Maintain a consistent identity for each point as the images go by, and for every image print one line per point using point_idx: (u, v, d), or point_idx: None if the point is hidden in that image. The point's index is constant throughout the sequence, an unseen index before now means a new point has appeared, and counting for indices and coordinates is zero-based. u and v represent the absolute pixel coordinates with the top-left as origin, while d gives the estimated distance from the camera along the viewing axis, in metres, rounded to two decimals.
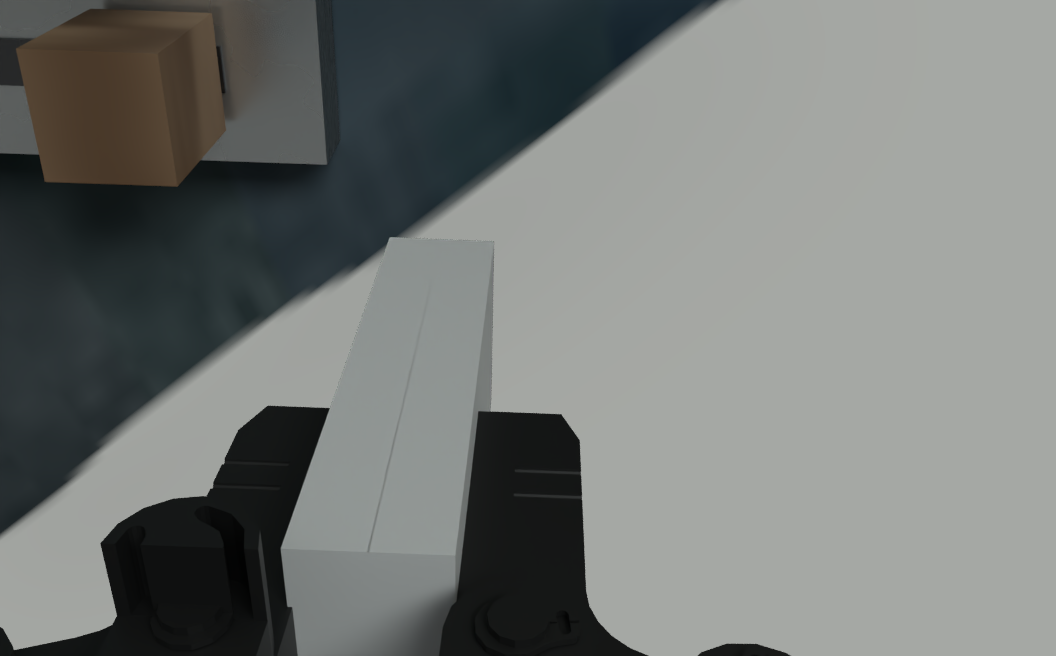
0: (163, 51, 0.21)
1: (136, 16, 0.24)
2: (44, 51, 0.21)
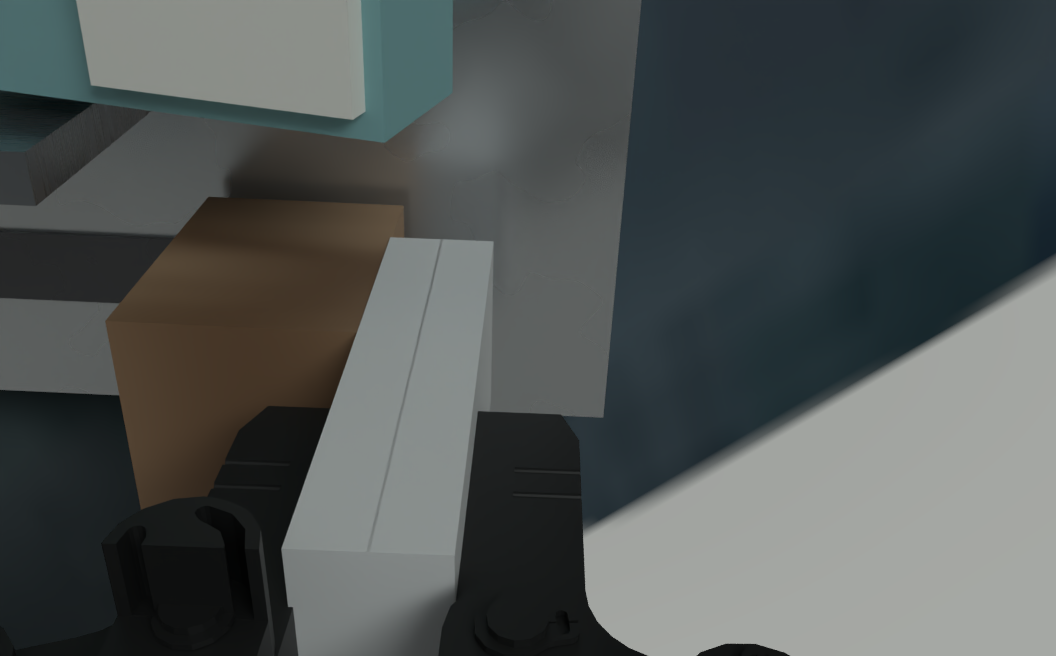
0: None
1: (287, 217, 0.15)
2: (155, 325, 0.12)
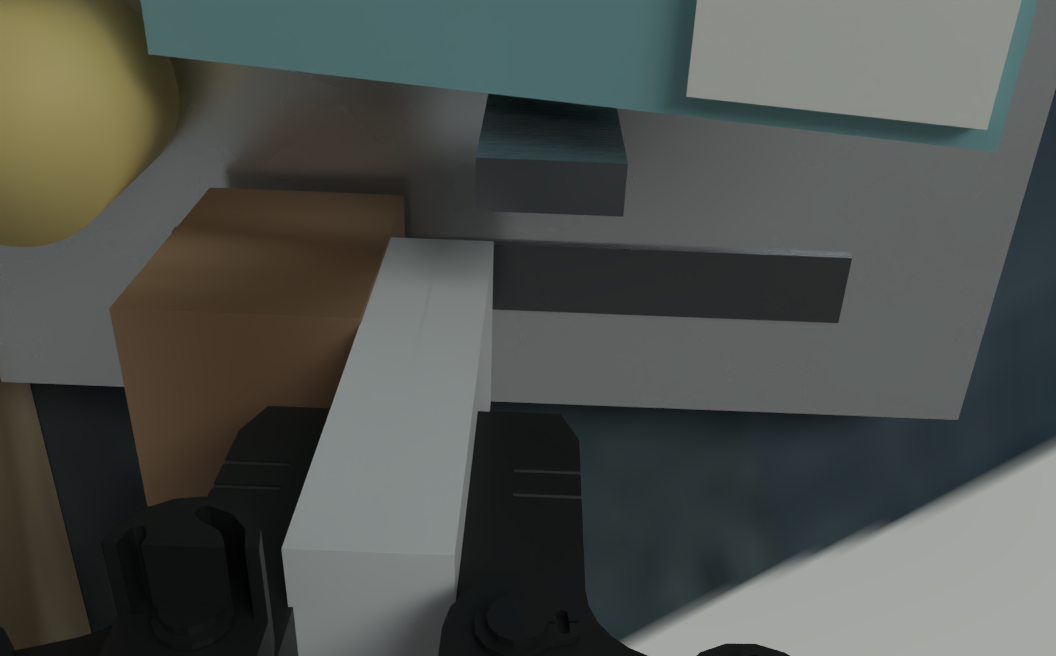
0: (364, 308, 0.12)
1: (288, 207, 0.15)
2: (159, 313, 0.12)
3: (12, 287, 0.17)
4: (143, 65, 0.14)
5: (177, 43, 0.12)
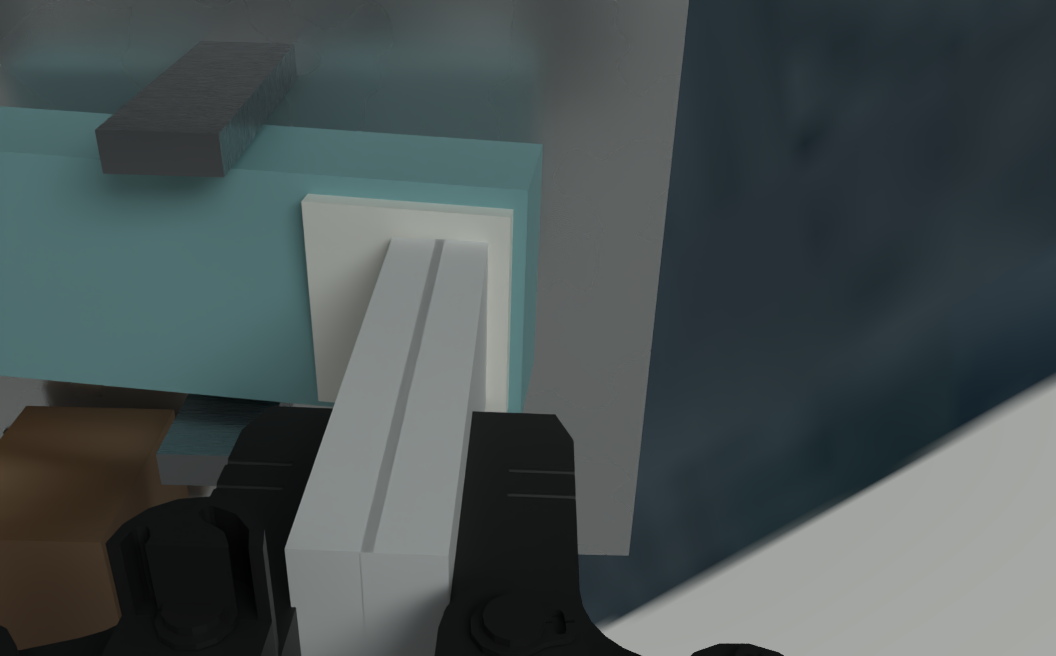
0: (108, 531, 0.17)
1: (81, 426, 0.20)
2: None
3: None
4: None
5: None
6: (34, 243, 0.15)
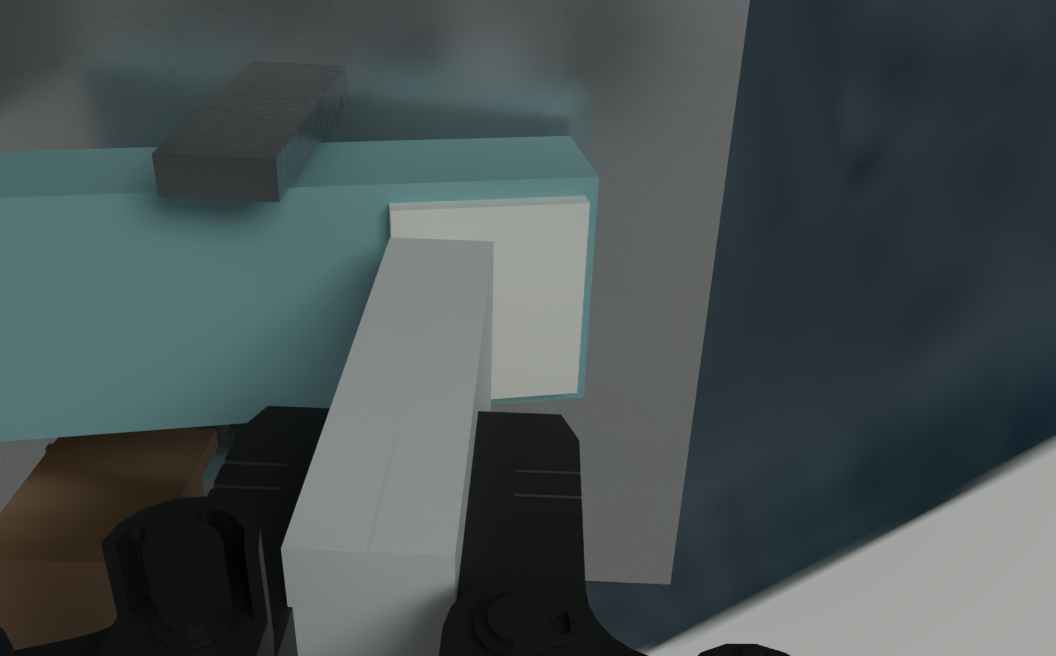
0: None
1: (123, 445, 0.20)
2: (2, 560, 0.17)
3: None
4: None
5: None
6: (85, 290, 0.14)
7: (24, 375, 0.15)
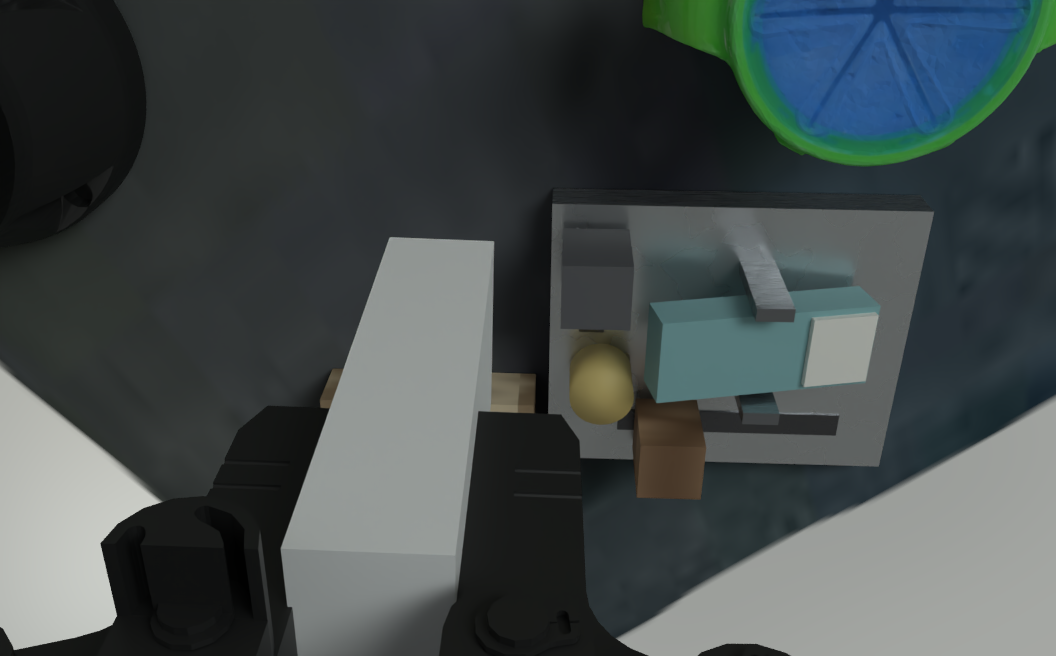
0: (705, 444, 0.46)
1: (665, 406, 0.48)
2: (653, 446, 0.46)
3: None
4: (630, 370, 0.47)
5: (666, 399, 0.44)
6: (712, 349, 0.43)
7: (685, 378, 0.44)
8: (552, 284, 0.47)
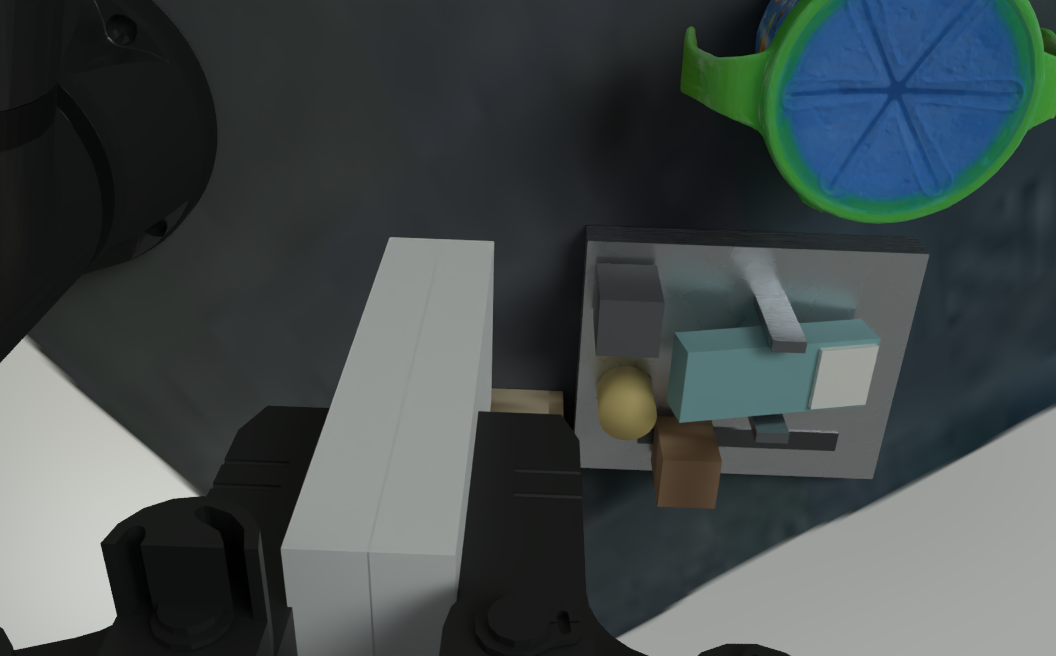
0: (720, 459, 0.51)
1: (682, 423, 0.53)
2: (674, 461, 0.50)
3: (585, 440, 0.55)
4: (652, 391, 0.52)
5: (688, 419, 0.49)
6: (731, 375, 0.48)
7: (706, 401, 0.49)
8: (584, 312, 0.51)
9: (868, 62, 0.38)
